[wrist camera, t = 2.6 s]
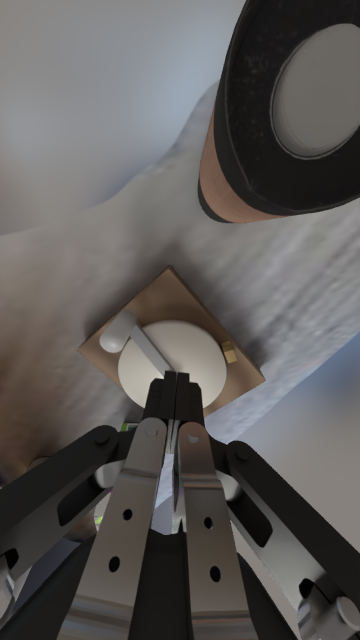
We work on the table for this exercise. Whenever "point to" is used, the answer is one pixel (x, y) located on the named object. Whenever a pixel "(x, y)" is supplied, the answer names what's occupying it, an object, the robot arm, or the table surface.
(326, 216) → the table surface
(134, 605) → the robot arm
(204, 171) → the travel mug
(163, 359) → the dial
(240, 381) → the dial stand
